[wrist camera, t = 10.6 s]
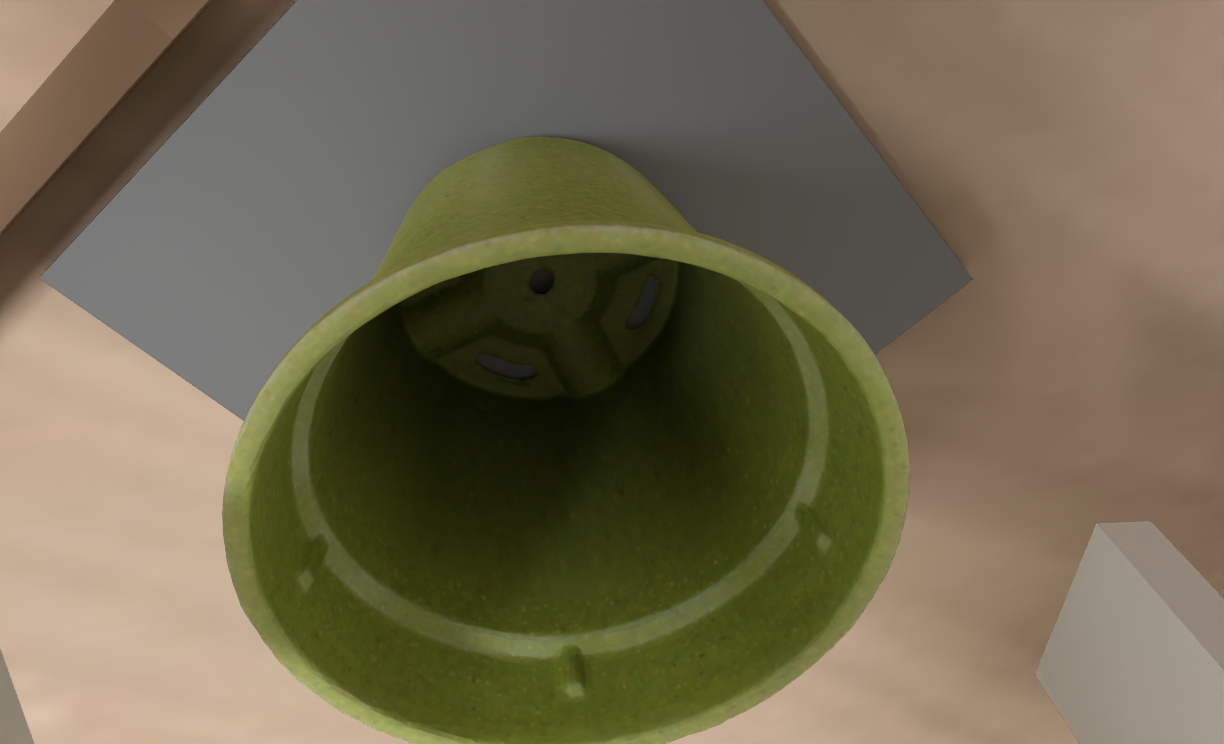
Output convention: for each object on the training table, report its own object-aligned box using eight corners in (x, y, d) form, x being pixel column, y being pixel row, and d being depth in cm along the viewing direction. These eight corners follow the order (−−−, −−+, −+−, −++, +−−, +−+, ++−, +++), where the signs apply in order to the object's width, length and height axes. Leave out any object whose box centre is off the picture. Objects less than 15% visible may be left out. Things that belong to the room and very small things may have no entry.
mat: (46, 269, 20) (39, 278, 19) (552, -275, 16) (554, -276, 16) (527, 608, 26) (528, 619, 26) (965, 271, 23) (973, 278, 22)
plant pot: (668, 487, 24) (760, 793, 17) (275, 413, 22) (181, 735, 14) (823, 128, 20) (1035, 328, 13) (357, -15, 18) (283, 131, 10)
